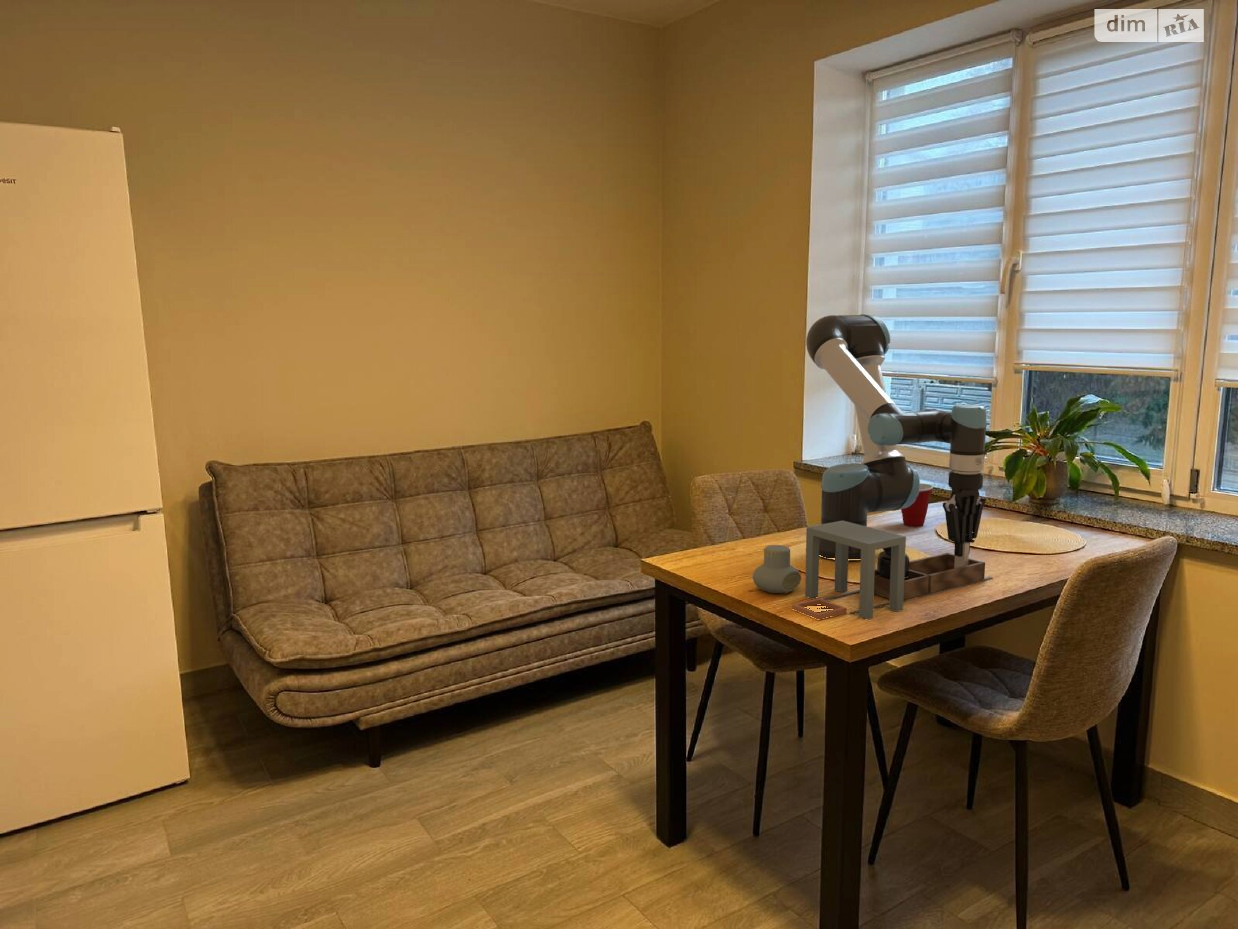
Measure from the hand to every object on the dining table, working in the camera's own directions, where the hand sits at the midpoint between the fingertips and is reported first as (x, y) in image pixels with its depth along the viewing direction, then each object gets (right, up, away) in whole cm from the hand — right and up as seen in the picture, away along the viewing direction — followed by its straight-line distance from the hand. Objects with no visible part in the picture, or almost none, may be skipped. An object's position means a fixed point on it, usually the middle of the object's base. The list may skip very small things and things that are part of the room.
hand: (961, 568), depth 207 cm
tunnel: (-16, -4, -9) cm, 18 cm away
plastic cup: (+6, +7, +52) cm, 53 cm away
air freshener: (-45, -4, -8) cm, 46 cm away
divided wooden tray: (-11, -3, -6) cm, 13 cm away
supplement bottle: (-20, -4, -12) cm, 24 cm away
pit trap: (-39, -6, -23) cm, 46 cm away
